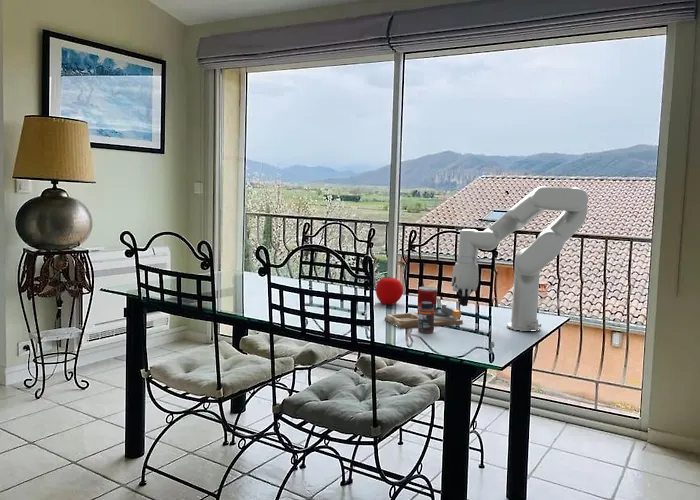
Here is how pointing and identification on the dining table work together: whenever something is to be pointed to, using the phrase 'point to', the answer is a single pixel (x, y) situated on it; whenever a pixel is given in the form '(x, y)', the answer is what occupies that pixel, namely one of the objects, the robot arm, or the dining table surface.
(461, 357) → the dining table surface
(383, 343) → the dining table surface
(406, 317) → the board
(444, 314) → the grey lever handle
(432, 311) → the supplement bottle
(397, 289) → the tomato
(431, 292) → the canned food
